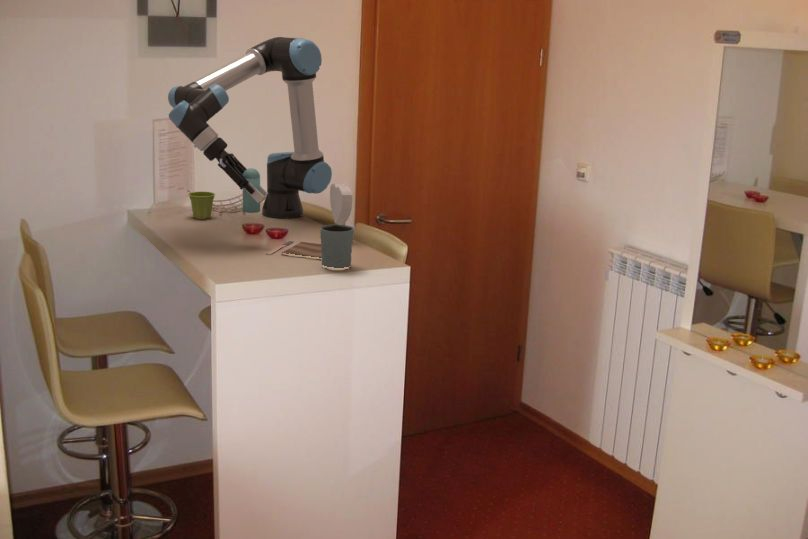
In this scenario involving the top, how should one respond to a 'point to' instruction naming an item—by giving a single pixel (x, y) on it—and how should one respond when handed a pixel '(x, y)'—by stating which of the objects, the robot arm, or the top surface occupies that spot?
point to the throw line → (288, 242)
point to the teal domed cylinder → (248, 201)
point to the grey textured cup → (336, 245)
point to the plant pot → (201, 204)
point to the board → (306, 249)
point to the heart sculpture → (340, 202)
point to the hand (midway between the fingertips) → (262, 198)
